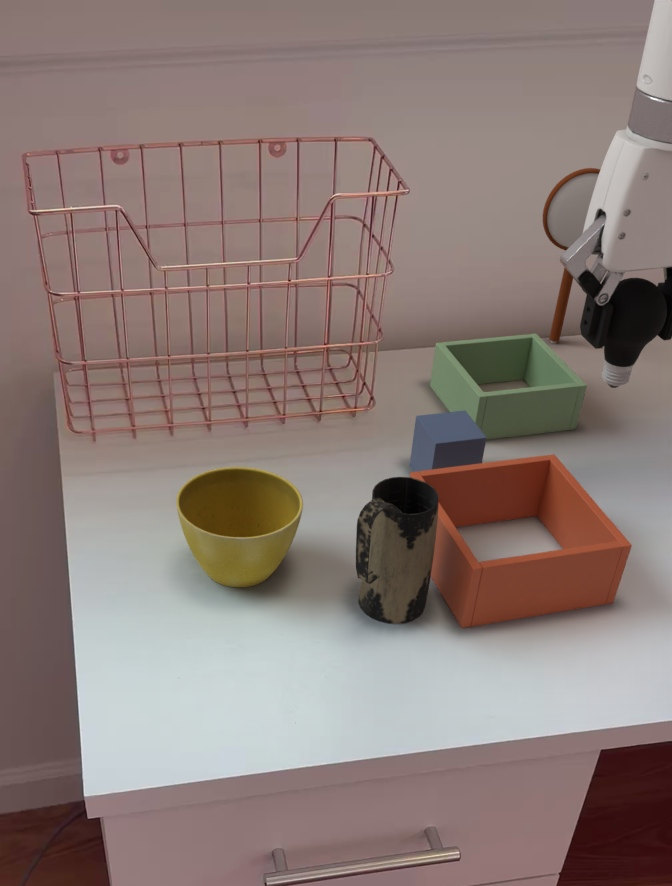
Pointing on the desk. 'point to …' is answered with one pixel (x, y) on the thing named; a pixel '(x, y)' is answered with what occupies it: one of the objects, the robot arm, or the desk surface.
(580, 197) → the magnifying glass
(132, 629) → the desk surface
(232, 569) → the yellow bowl
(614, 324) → the light bulb
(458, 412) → the block
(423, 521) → the mug
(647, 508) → the desk surface
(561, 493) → the block bin
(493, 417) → the bulb bin
